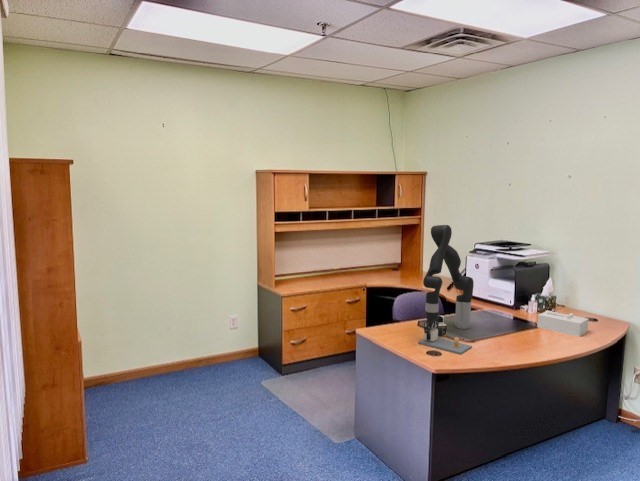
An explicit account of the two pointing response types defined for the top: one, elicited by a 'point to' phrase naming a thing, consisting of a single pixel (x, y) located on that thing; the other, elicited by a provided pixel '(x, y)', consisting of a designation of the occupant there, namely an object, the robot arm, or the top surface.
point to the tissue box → (563, 323)
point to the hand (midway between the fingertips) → (430, 338)
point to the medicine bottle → (441, 327)
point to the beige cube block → (432, 335)
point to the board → (447, 345)
